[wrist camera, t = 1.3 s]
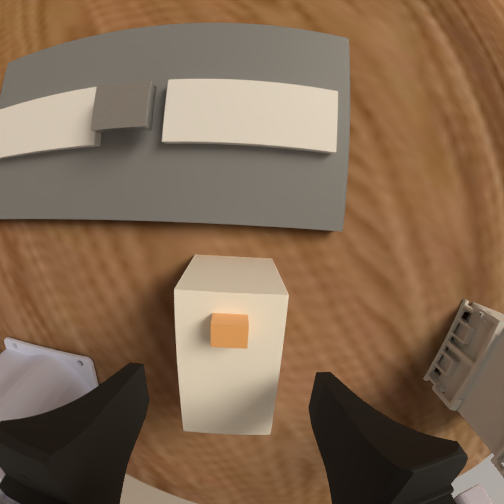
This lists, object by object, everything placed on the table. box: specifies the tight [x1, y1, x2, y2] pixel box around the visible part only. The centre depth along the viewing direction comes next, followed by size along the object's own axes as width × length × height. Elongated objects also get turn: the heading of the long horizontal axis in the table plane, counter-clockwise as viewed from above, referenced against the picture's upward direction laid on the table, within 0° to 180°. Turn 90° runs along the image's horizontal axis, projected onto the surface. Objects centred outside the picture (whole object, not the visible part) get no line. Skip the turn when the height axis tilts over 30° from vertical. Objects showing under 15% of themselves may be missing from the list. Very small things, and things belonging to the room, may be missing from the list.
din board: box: [0, 23, 350, 231], centre depth 14 cm, size 24×12×2 cm, turn 86°
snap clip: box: [91, 80, 157, 134], centre depth 13 cm, size 3×2×1 cm
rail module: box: [174, 255, 289, 435], centre depth 15 cm, size 4×8×7 cm, turn 176°
